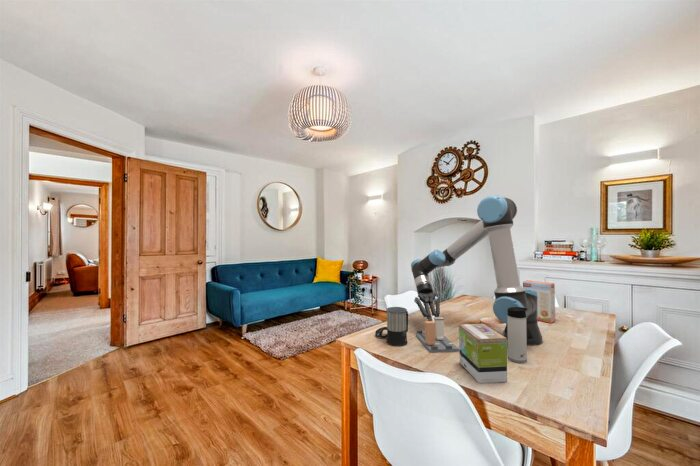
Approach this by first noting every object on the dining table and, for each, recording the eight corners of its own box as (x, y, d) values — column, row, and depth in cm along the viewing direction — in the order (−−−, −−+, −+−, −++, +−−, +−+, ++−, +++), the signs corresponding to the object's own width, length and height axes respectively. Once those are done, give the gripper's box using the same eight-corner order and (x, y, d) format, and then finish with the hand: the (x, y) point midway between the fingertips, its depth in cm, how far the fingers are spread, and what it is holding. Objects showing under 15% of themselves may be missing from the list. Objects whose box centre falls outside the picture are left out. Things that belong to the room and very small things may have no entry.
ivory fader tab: (433, 337, 131) (433, 317, 131) (442, 337, 131) (441, 316, 131) (436, 339, 128) (436, 319, 128) (444, 339, 128) (444, 318, 128)
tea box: (458, 363, 109) (457, 323, 109) (484, 362, 109) (484, 322, 109) (478, 384, 93) (477, 337, 94) (508, 382, 94) (508, 336, 94)
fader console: (415, 335, 138) (415, 312, 138) (440, 334, 139) (439, 312, 139) (430, 352, 118) (429, 326, 118) (458, 351, 119) (458, 325, 119)
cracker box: (555, 321, 157) (555, 283, 157) (550, 323, 154) (550, 284, 154) (527, 315, 169) (527, 279, 169) (522, 317, 165) (522, 280, 165)
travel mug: (527, 365, 106) (527, 310, 106) (507, 361, 110) (506, 308, 110) (527, 358, 111) (527, 306, 112) (508, 355, 115) (507, 304, 115)
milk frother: (405, 347, 123) (405, 312, 123) (369, 343, 129) (369, 309, 129) (410, 336, 137) (410, 304, 137) (377, 333, 142) (377, 302, 142)
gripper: (434, 290, 151) (447, 333, 135) (409, 291, 150) (419, 334, 134) (438, 281, 146) (452, 325, 129) (412, 282, 145) (423, 326, 129)
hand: (435, 330), depth 132 cm, fingers closed
